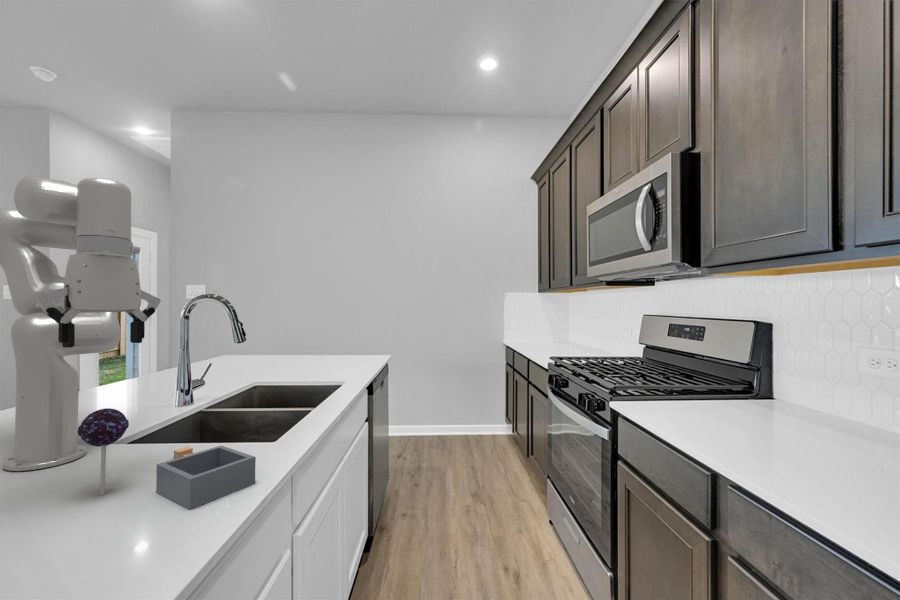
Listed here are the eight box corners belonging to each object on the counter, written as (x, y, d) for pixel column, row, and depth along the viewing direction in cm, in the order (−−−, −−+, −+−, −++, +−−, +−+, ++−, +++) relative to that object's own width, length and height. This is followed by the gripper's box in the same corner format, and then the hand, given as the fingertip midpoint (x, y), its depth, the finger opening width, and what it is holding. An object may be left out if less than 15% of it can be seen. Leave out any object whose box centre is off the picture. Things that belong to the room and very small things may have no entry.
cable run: (171, 457, 88) (171, 447, 88) (191, 453, 90) (191, 443, 90) (186, 481, 76) (186, 470, 76) (209, 476, 79) (209, 464, 79)
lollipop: (122, 481, 76) (123, 402, 76) (131, 492, 71) (133, 408, 71) (72, 494, 70) (74, 409, 70) (80, 507, 66) (82, 416, 66)
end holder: (156, 492, 72) (156, 464, 72) (220, 470, 81) (221, 445, 81) (189, 509, 66) (190, 479, 66) (255, 483, 75) (255, 456, 76)
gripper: (150, 257, 81) (150, 341, 81) (30, 245, 67) (29, 348, 66) (168, 253, 78) (168, 341, 77) (45, 240, 63) (44, 349, 62)
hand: (104, 344), depth 72 cm, fingers open, 9 cm apart
